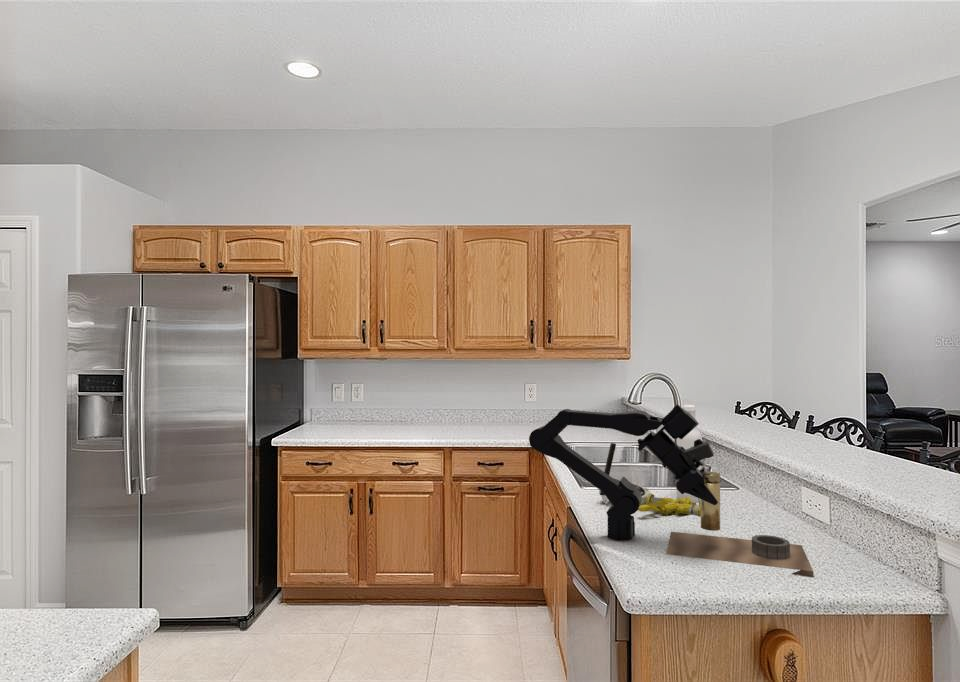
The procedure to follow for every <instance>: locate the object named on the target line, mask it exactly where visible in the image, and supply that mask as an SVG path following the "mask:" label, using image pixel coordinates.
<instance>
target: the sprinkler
mask: <svg viewBox="0 0 960 682" xmlns="http://www.w3.org/2000/svg"><path fill="white" fill-rule="evenodd" d="M690 500H691V499H690V498H689V497H686V498H683V499H681V498H677V497H676V499H673V498H672V497H656V496H655V494H653V493H651V494H650V495H649V496H648V498H647V499H646V503H645V504H643V505H640V506H639V508H638V510H637V511H638V512H644V513H645V512H653V511H654V512H655V511H656V512H658V513H659V514H663V515H665V516H669V515H675V516H678V515H680V514H684V515H689V516H690V515H692V516H696V517H700V518H701V501H700V499H699V498H698V500H699V502H698V504H697V502H692V501H690Z"/></svg>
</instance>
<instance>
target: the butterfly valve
mask: <svg viewBox="0 0 960 682" xmlns="http://www.w3.org/2000/svg"><path fill="white" fill-rule="evenodd" d="M609 445H610V446H609V449H608V454H607V457H606V463H605V467H604V470H603V472H605V473H606V474H607V475H609V476H610V473H611V469H612V464H613V460H614V455H615V451H616V447H617V444H616V443H614V442H611V443H610V444H609ZM631 483H632V482H631ZM632 484H634V485H637V487H636V488H637V489H638V490H639V491H640V493H641V496H642V501H641V504H640V505H645V504H647V503H646V499H647V498H648V496H649V495H650V494H652V491H651V490H649V488H646V487H643V486H641V485H639V484H636V483H632ZM598 493H599V494H598V495H599V496H600V497H601V500H602V502H603V504H604V503H605V504H606V505H608V504H611V502H610V501H609V500H608V498H607V497H606V496H605V494H604V493H603V492H602V491H601V490H599V491H598ZM605 504H604V505H605Z"/></svg>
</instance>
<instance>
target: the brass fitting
mask: <svg viewBox="0 0 960 682" xmlns="http://www.w3.org/2000/svg"><path fill="white" fill-rule="evenodd" d="M701 473H702V475H703V474H704V483H705V484H706V486H707V487H708V489H709V490H710V491H711V493H712V494H713V495H714V497H715V498H716V500H717V501H718V503H717V504H716V505H713V504H711V503H708V502H706V501H704V500H702V499H701V503H700V505H701V517H700V528H701V529H702V530H705V531H706V530H707V531H712V532H714V531H719V530H720V531H721V473H720V472H716V471H704V472H701Z"/></svg>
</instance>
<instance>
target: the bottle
mask: <svg viewBox="0 0 960 682" xmlns="http://www.w3.org/2000/svg"><path fill="white" fill-rule="evenodd" d="M682 408H683V409H684V410H685V411H686V412H689V413H690V414H691V415H692V416H693V417H694V418H695V419H696V412H697V409H696V406H695V405H694V404H685V405H683V407H682ZM698 439H700V440H702V441H703V437H702V434H701V432H700V431H699V429H697V427H695V428H694V429H693V430H692V431H691V432H690V433H688V434H687V435H686V436H685V437H684V438H683V439H680V438H677V439H676V444H677V445H678V446H679V447H680V446H681V447H683V448H684V449H685V450H686V449H689V448H691V447H694V441H695V440H698ZM701 461H702V462H703V460H701ZM702 468H703V465H702V466H699V467H698V468H697V469H698V470H699V471H700V470H701V469H702ZM686 497H689V498H690V499H691V500H690V501H692V502H696V503H699V500H698V498H697V497H695V496H692V495H690V494H688V493H684V494H681V493H680V492H679V491H678V490H677V489H676V499H677V498H681V499H683V498H686ZM700 501H701V499H700Z"/></svg>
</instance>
